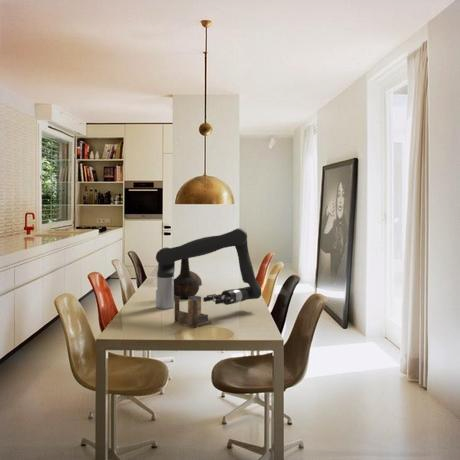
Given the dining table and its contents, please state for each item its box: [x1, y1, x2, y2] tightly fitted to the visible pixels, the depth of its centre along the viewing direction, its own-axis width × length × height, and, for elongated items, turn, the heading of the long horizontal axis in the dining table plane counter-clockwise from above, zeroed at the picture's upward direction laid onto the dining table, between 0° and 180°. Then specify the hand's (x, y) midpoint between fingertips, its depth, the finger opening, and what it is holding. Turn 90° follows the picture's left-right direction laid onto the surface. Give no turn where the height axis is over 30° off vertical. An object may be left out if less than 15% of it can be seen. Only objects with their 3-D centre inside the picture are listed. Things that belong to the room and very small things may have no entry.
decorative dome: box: [177, 270, 203, 287], centre depth 376 cm, size 19×20×10 cm
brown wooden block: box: [187, 295, 202, 316], centre depth 265 cm, size 4×5×12 cm
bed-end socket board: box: [173, 295, 213, 329], centre depth 264 cm, size 15×12×13 cm
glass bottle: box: [174, 258, 200, 299], centre depth 331 cm, size 18×18×28 cm
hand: (209, 300), depth 272 cm, fingers open, 8 cm apart
